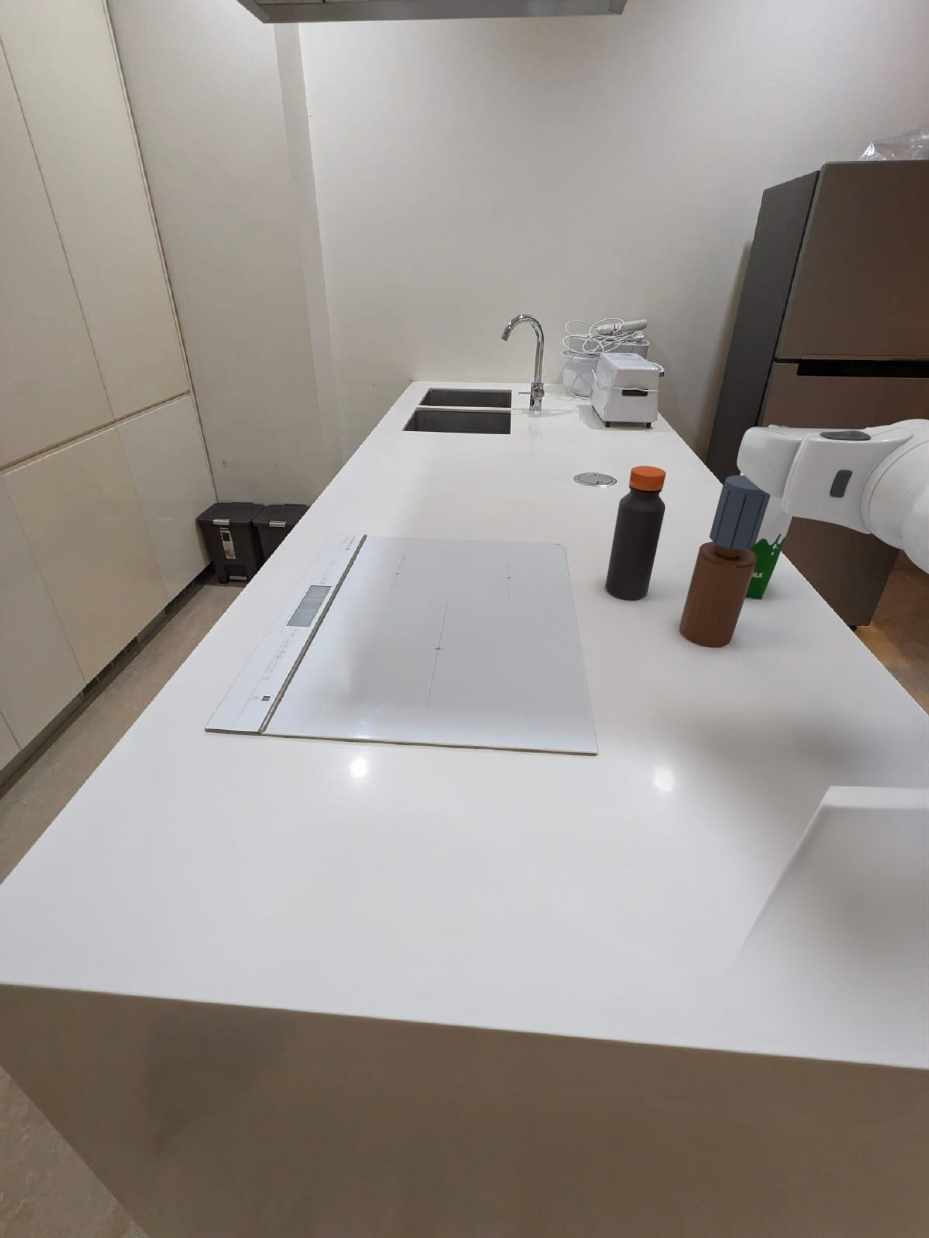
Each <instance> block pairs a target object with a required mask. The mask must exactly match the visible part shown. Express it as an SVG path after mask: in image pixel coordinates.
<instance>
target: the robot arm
mask: <svg viewBox="0 0 929 1238" xmlns="http://www.w3.org/2000/svg"><path fill="white" fill-rule="evenodd" d="M739 445H740V446H739V449H738V454H737V459H736V467H737V468H738V470H739V471H740V473H741V472H742V473H743V474H744V475H745V476H746V477H747V478H748V479H749V480H750V481H751V482H753V483H754V484H755V485H756V486H757V487H759V488H760V489H761V490H763V491H764V492H766V493H768V494H770V495H772V496H775V497H777V498H781V499H782V503H781V509H782V510H783V511H784V512H785V513H787V514H789V515H791V516H792V517H795V518H801V519H806V520H811V521H818V522H823V523H827V524H834V525H839V526H842V527H845V528H848V529H851V530H854V531H857V532H860V533H862V534H866V535H871V534H873V536H875V537H876V538H878V539H879V540H881V541H882V542H883V543H885V544H887V545H888V546H890V547H893V548H895V549H899V550H903V551H904V553H905V554H906V556H907V558H908V559H909V560H910V561H911V562H912V563H913V564H914V565H915V566H916V567H918V568H919V569H921V570H922V571H923V572H924V573H926V574H927V575H929V419H924V418H913V419H905V420H901V421H898V422H897V421H896V422H894V423H892V424H889V425H887V424H886V425H879V426H867V427H866V428H863V429H858V428H857V429H856V428H855V429H853V428H852V429H851V428H815V427H813V428H812V427H811V428H810V427H809V428H807V427H789V426H787V425H786V424H769V425H768V426H753V427H750V428H748V429H747V430H746V431H745V432H744V434H743V437H742V439H741V442H740V444H739Z"/></svg>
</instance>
